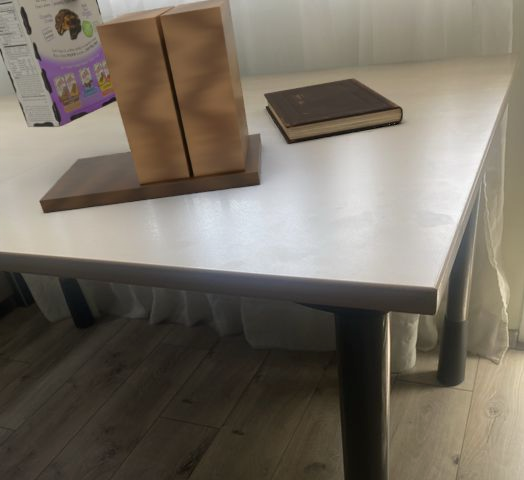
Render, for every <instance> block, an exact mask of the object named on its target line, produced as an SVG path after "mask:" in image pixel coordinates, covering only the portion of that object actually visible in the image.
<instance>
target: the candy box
mask: <svg viewBox="0 0 524 480" xmlns="http://www.w3.org/2000/svg"><path fill="white" fill-rule="evenodd" d="M103 23H104V20H103V16H102V12H101V9H100V5H99V2H98V0H73V1H72V0H0V56H1V58H2V61H3V63H4V64H3V65H4V66H5V69H6V71H7V75H8V77H9V79H10V82H11V85H12V88H13V90H14V94H15V96H16V98H17V101H18V104H19V106H20V109H21V113H22V115H23V117H24V120H25V123H26V125H27V127H28V128H59V127H63V126H66V125H68V124H70V123H72V122H73V121H76V120H78V119H80V118H83V117H84V116H87V115H89V114H92V113H93V112H96V111H98V110H99V109H102V108H105V107H106V106H108V105H111V104H113V103H115V102H117V100H116V97H115V93H114V89H113V86H112V82H111V79H110V75H109V71H108V68H107V64H106V61H105V57H104V53H103V50H102V46H101V43H100V39H99V35H98V32H97V28H96V26H98V25H100V24H103Z"/></svg>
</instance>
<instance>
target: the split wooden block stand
mask: <svg viewBox="0 0 524 480" xmlns="http://www.w3.org/2000/svg"><path fill="white" fill-rule="evenodd" d="M231 10H232V9H231V4H230V0H201V1H195V2H188V3H181V4H178V5H177V6H175V5H171V6H165V7H159V8H153V9H147V10H139V11H134V12H128V13H125V14H122V15H120V16H118V17H115V18H113V19H110V20H108V21H105V22H103V24H100V25H98V26H96V28H97V32H98V35H99V39H100V43H101V46H102V50H103V53H104V57H105V61H106V64H107V68H108V71H109V75H110V79H111V82H112V86H113V89H114V93H115V97H116V100H117V101H116V103H117V107H118V111H119V115H120V118H121V122H122V125H123V129H124V133H125V136H126V139H127V143H128V147H129V150H130V151H124V152H119V153H118V152H117V153H111V154H104V155H103V154H102V155H96V156H90V157H83V158H82V157H81V158H78V159H76V161H75V162H74V163H73V164H72V165H71V166H70V167H69V168H68V169H67V170H66V171H65V172H64V174H63V175H62V176H61V177H60V178H59V179H58V180H57V181H56V182H55V183H54V184H53V185H52V186H51V187H50V189H49V190H48V191H47V192H45V194H44V195H43V196H42V197H41V198H40V199H39V201H38V202H39V204H40V207H41V210H42V212H43V213H53V212H60V211H67V210H76V209H83V208H89V207H91V208H92V207H98V206H104V205H105V206H107V205H113V204H120V203H128V202H129V203H130V202H134V201H135V202H136V201H137V202H138V201H143V200H150V199H151V200H152V199H158V198H167V197H172V196H173V197H175V196H180V195H182V196H183V195H190V194H197V193H205V192H212V191H219V190H226V189H233V188H235V189H236V188H242V187H249V186H256V185H261V170H262V169H261V165H262V138H261V133H253V134H249V127H248V121H247V113H246V106H245V100H244V93H243V86H242V79H241V71H240V66H239V58H238V51H237V45H236V38H235V31H234V24H233V19H232V18H233V16H232V13H231V12H232V11H231Z"/></svg>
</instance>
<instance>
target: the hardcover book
mask: <svg viewBox="0 0 524 480" xmlns="http://www.w3.org/2000/svg"><path fill="white" fill-rule="evenodd" d="M263 96H264V98H265V99H266V102H267V105H266V106H265V109H266V110H267V113H268V114H269V115H270V117H271V118H272V120H273V122H274V124H276V126H277V128H278V130H279V132H280V133H281V134H282V136H283V137H284V139H285V141H286V142H287V144H293V143H298V142H304V141H310V140H316V139H321V138H326V137H327V138H328V137H333V136H337V135H338V136H339V135H344V134H349V133H355V132H360V131H366V130H365V129H367V130H371V129H370V128H373V129H375V128H374V127H378V128H380V127H379V126H384V125H389V124H394V123H399V124H400V123H401V122H402V121H403V117H404V109H403V107H402V106H400V105H398V104H397V103H395V102H393V101H392V100H390V99H388V98H387V97H386V96H384V95H382V94H381V93H379V92H377V91H376V90H374V89H372V88H371V87H369V86H367V85H366V84H364V83H362V82H361V81H359V80H358V79H356V78H355V77H352V78H346V79H341V80H334V81H329V82H324V83H319V84H318V83H317V84H311V85H307V86H301V87H294V88H290V89H289V88H288V89H283V90H277V91H272V92H267V93H264V94H263ZM389 126H390V125H389ZM384 127H385V126H384Z"/></svg>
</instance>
